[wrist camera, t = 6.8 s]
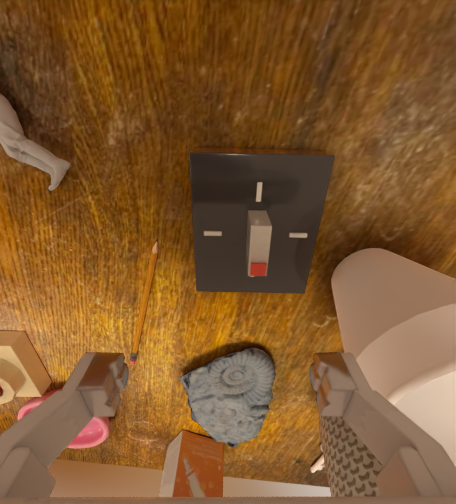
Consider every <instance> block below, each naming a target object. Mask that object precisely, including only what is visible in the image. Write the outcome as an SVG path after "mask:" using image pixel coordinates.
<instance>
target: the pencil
mask: <svg viewBox="0 0 456 504" xmlns="http://www.w3.org/2000/svg"><path fill="white" fill-rule="evenodd" d="M157 256H158V238H157V241H156V243H155V245H154V247H153V249H152V252H151V257H150V262H149V267H148V273H147V278H146V283H145V288H144V293H143V298H142V304H141V309H140V314H139V319H138V324H137V330H136V335H135V340H134V345H133V350H132V353H131V358H130V363H131V364H134V363H135V361H136V359H137V354H138V347H139V342H140V337H141V333H142V328H143V323H144V318H145V313H146V309H147V304H148V299H149V294H150V289H151V285H152V280H153V275H154V270H155V265H156V261H157Z"/></svg>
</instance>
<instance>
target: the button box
mask: <svg viewBox="0 0 456 504" xmlns="http://www.w3.org/2000/svg"><path fill="white" fill-rule="evenodd" d="M51 382H52V381H51V379H50V377H49V375H48V373H47V372H46V370H45V368H44V366H43V364H42V362H41V361H40V359H39V357H38V355H37V353H36V352H35V350H34V348H33V346H32V344H31V343H30V341H29V339H28V337H27V335H26V333H25V332H24V331H0V386H1V388H2V389H3V390H2V392H1V393H0V404H4V403H6V402H9V401H11V400H13V399H14V397H15V396H17V397H42V396H43V394H44V393H45V391H46V390H47V388H48V387H49V385H50V384H51Z"/></svg>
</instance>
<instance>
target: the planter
mask: <svg viewBox="0 0 456 504" xmlns="http://www.w3.org/2000/svg"><path fill="white" fill-rule="evenodd" d="M319 429H320V438H321V445H322V451H323V456H324V462H325V467H326V473H327V478H328V482H329V487H330V492H331V496H332V497H381V495H380V492H379V490H378V487H377V485H376V482H375V479H376V477H377V475H378V474H379V472H380V471H381V470H382V468H383V467H384V466H383V465H382V464H381V463H380V462H379V460H378V459H377V458H376V457H375V456H374V455H373V453H372V452H371V451H370V450H369V449H368V448H367V446H366V445H365V444H364V443H363V442H362V440H361V439H360V438H359V437H358V436H357V435H356V433H355V432H354V431H353V430H352V429H351V428H350V426H349V425H348V424H347V423H346V422H345V421H344V419H343V417H332V416H321V414H320V410H319Z"/></svg>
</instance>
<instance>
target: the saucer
mask: <svg viewBox="0 0 456 504" xmlns="http://www.w3.org/2000/svg"><path fill="white" fill-rule="evenodd" d="M60 390H62V388H59V389H54V390H50V391H48V392H47V393H45V394H43V396H42V397H35V398H33V399H31V400H29V401H28V402H26V403H25V404H24V405H23V406H22V408H21V409H20V411H19V413H18V421H19V420H20V419H21V418H23V417H24V416H25V415H27V414H28V413H29V412H30V411H32V410H33V409H34V408H36V407H37V406H38V405H39V404H41V403H42V402H43V401H45V400H46V399H47V398H49V397H50V396H51V395H52V394H54V393H55V392H56V391H60ZM109 432H110V422H109V417H93V419H92V420H91V421H90V422H89V423H88V424H87V425H86V427H85V428H84V429H83V430H82V431H81V432H80V433H79V434H78V435H77V436H76V437H75V439H74V440H73V441H72V442H71V443H70V444H69V445H68V446H67V448H88V447H93V446H96V445H98V444H100V443H102V442H103V441H104V440H105V439H106V438H107V437H108V434H109Z"/></svg>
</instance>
